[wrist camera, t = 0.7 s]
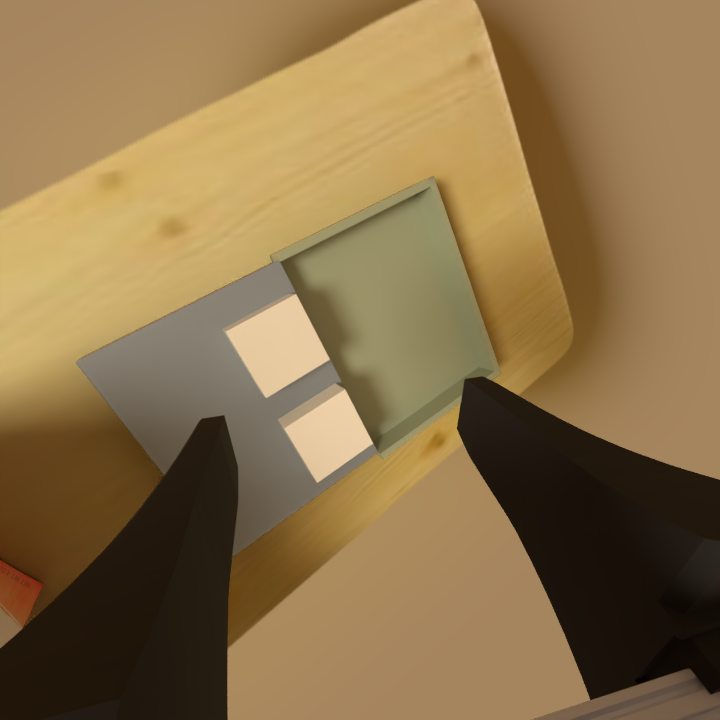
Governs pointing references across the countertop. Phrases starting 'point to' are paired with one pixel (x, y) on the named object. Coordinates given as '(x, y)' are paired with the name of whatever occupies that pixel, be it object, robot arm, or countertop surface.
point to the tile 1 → (277, 344)
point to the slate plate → (217, 398)
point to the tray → (394, 311)
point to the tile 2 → (326, 431)
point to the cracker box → (15, 600)
